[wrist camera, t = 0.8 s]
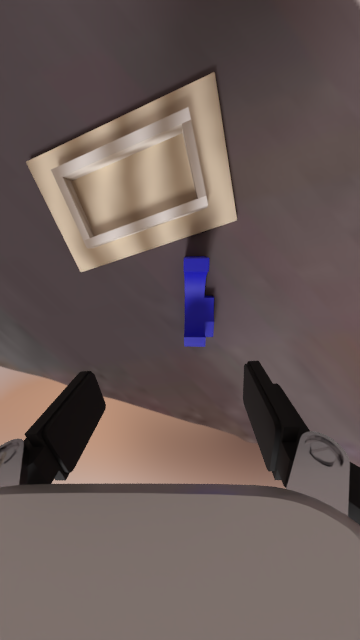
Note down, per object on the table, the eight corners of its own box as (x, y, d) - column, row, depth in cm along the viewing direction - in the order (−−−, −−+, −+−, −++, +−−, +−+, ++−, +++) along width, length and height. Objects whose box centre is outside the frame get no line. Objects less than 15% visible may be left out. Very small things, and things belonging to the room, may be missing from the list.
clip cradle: (213, 78, 18) (216, 55, 16) (235, 220, 23) (240, 217, 21) (31, 164, 22) (13, 155, 20) (83, 271, 27) (74, 273, 25)
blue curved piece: (210, 328, 30) (215, 346, 25) (185, 328, 30) (184, 346, 25) (215, 256, 25) (222, 258, 20) (185, 256, 26) (183, 258, 20)
